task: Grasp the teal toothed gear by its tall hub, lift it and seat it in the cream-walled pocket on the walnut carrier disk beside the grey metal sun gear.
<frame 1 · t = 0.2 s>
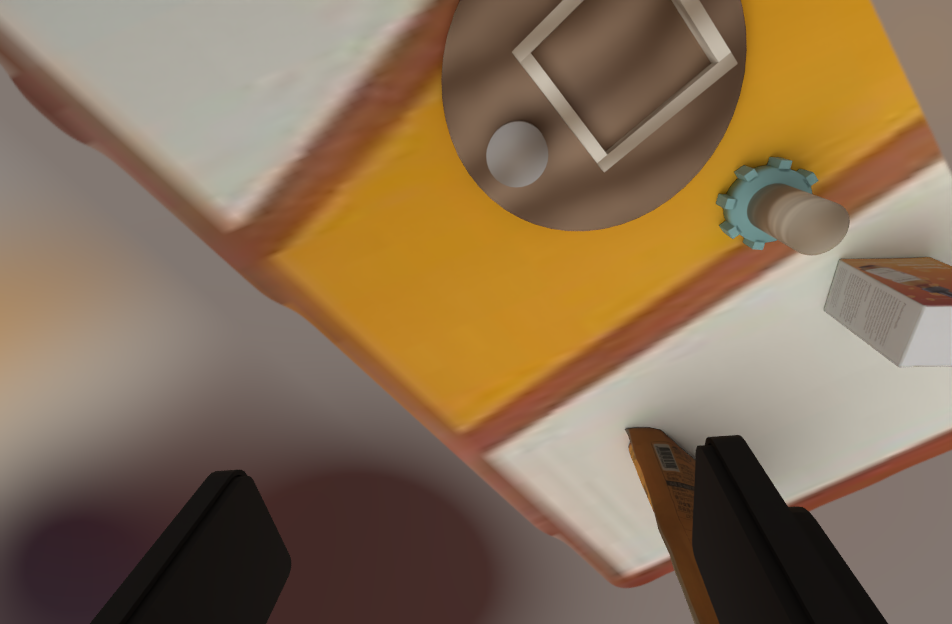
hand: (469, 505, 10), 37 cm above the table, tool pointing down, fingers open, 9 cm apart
carrier: (585, 86, 39), on the table
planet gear: (760, 201, 42), on the table
pancake mix bag: (676, 460, 56), on the table
small box: (871, 283, 45), on the table
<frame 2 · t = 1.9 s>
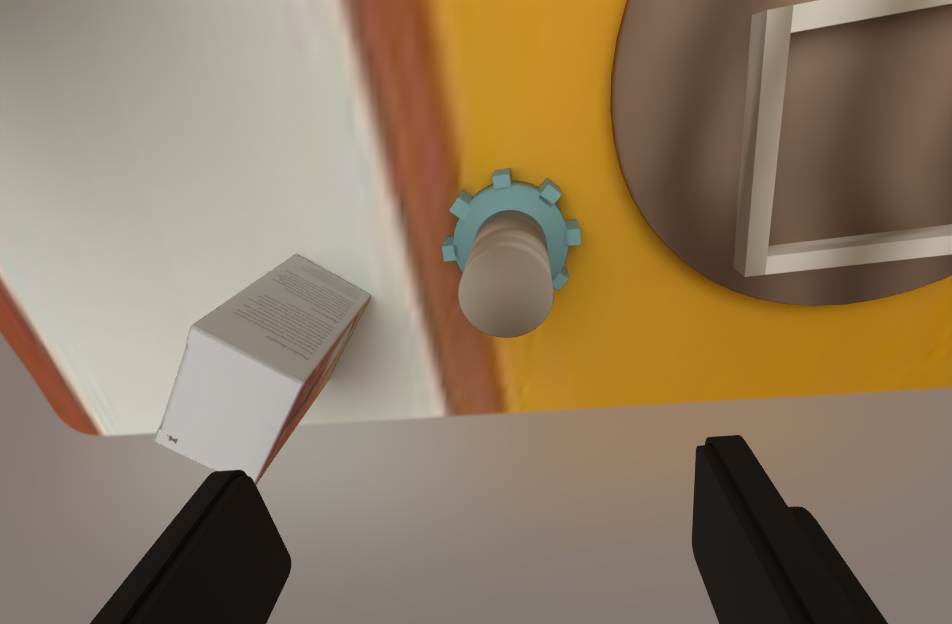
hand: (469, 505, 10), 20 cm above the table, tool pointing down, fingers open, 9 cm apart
carrier: (866, 66, 22), on the table
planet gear: (511, 235, 28), on the table
small box: (315, 317, 32), on the table
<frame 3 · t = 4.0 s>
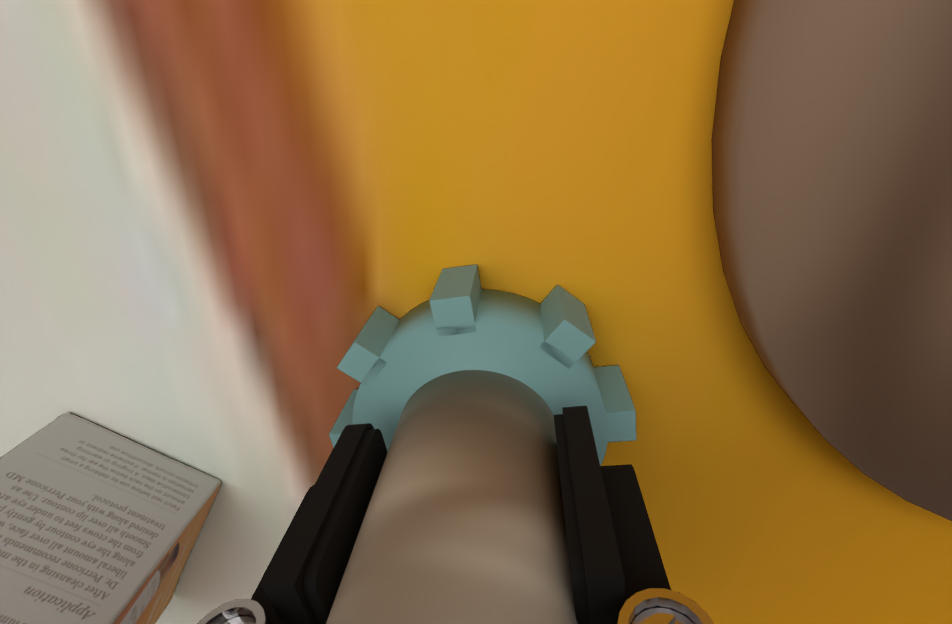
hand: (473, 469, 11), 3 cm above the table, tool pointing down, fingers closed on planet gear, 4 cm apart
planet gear: (483, 390, 13), on the table, touching gripper
small box: (131, 507, 17), on the table
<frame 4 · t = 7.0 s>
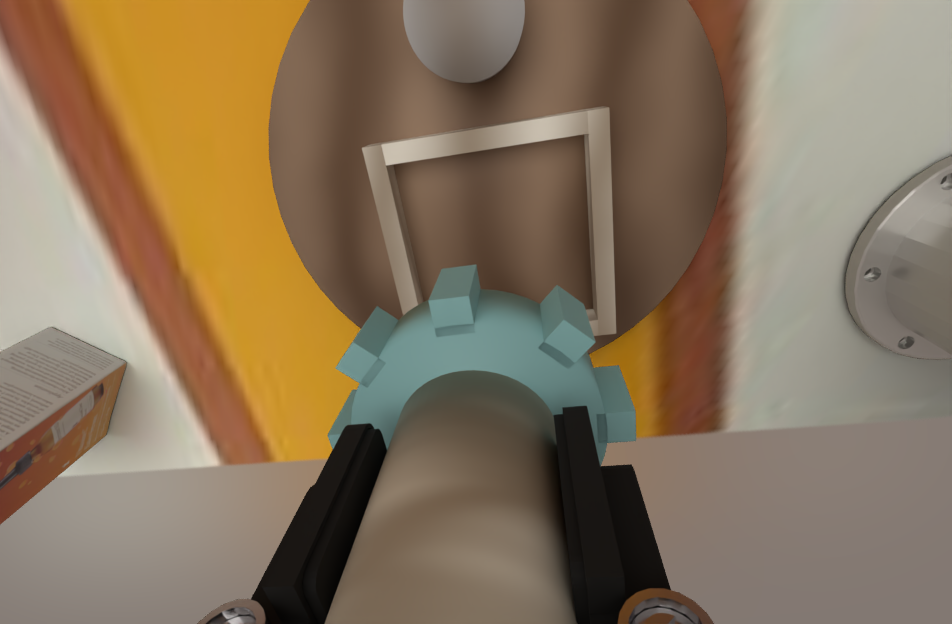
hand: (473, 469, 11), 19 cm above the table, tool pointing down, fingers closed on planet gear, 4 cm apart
carrier: (491, 180, 26), on the table
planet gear: (482, 391, 13), point 16 cm above the table, touching gripper
small box: (83, 380, 34), on the table
when the fingers open (7 cm above the table, at t = 9.9 s): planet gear drops 2 cm, resting on carrier.
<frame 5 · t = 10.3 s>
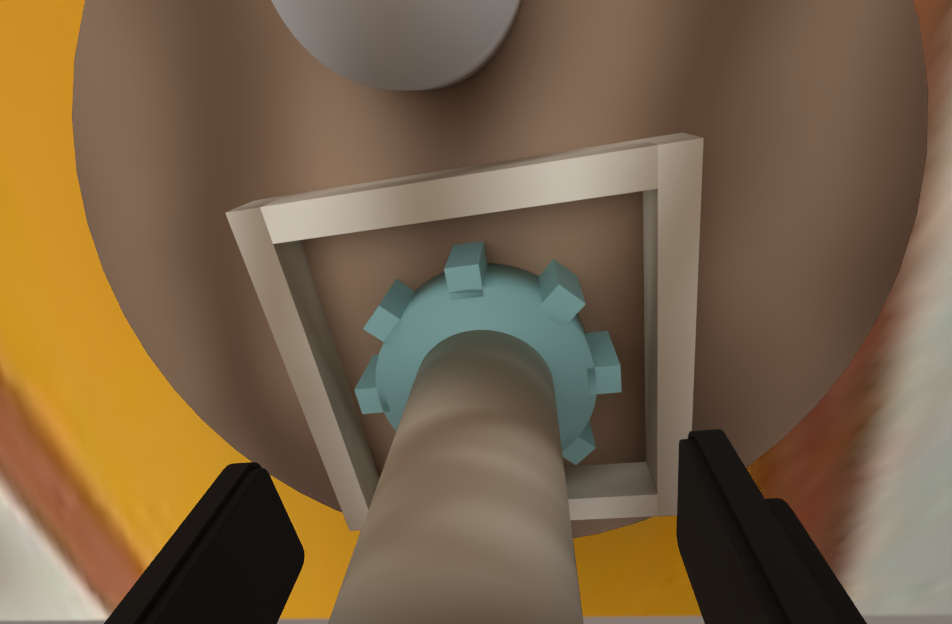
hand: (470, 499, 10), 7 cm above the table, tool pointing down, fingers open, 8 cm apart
carrier: (476, 254, 15), on the table
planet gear: (488, 355, 15), point 1 cm above the table, touching carrier
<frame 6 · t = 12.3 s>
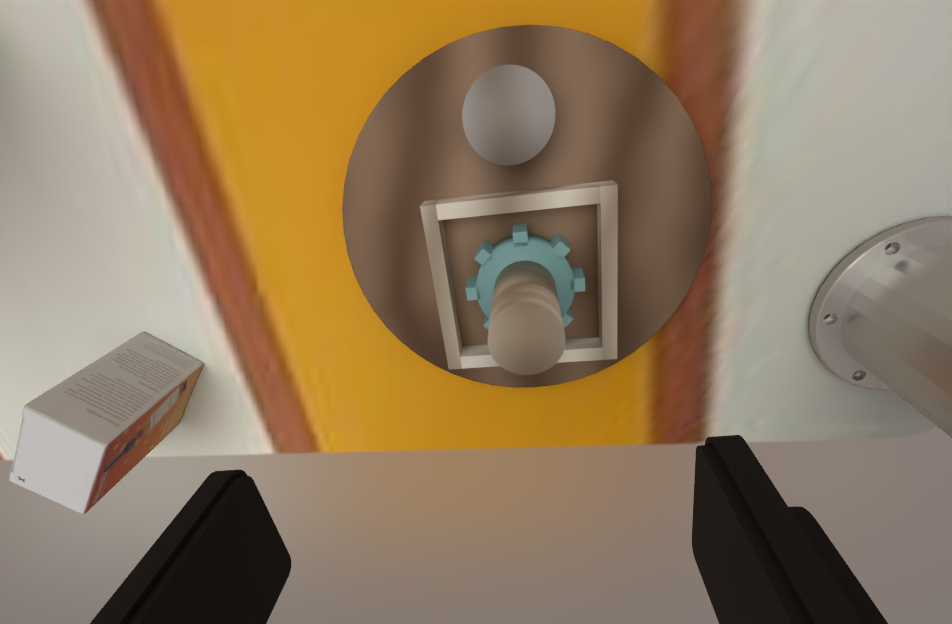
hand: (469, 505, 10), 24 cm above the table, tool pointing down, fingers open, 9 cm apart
carrier: (520, 230, 32), on the table
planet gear: (524, 278, 32), point 1 cm above the table, touching carrier
small box: (164, 377, 41), on the table
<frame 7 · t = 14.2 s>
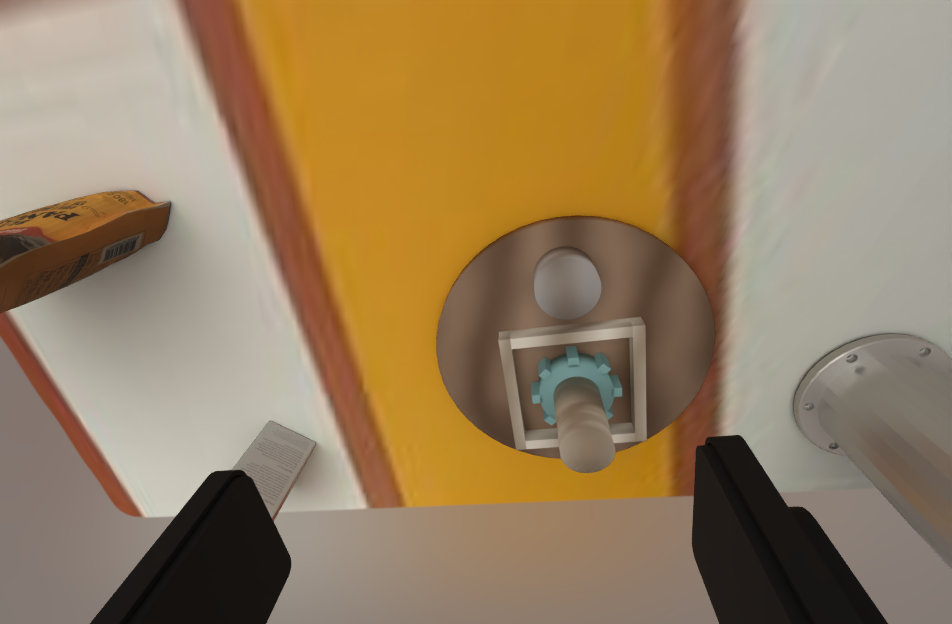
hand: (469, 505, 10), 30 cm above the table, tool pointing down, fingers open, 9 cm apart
carrier: (569, 346, 42), on the table
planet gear: (574, 382, 42), point 1 cm above the table, touching carrier
pancake mix bag: (103, 235, 41), on the table
small box: (282, 452, 51), on the table
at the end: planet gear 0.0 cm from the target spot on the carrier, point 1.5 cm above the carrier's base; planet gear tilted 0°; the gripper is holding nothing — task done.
